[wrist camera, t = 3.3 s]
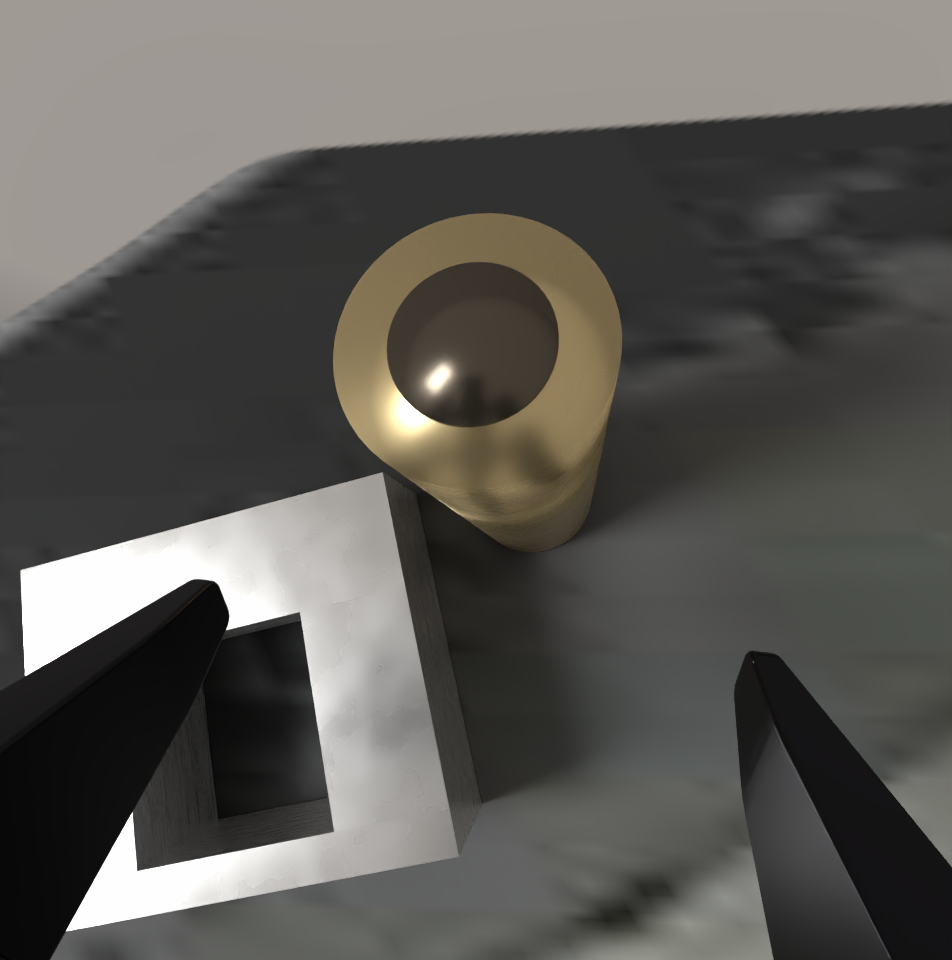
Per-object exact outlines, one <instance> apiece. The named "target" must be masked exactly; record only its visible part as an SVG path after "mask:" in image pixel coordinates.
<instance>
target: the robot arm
mask: <svg viewBox="0 0 952 960" xmlns="http://www.w3.org/2000/svg"><path fill="white" fill-rule="evenodd" d="M229 618H230V614H229V609H228V607H227V604H226V602H225V599H224V597H223V594H222V592H221V589H220V587H219V585H218V584H217V583H216V582H215V581H211V580H203V579H193V580H190V581H188V582H186V583H185V584H183V585H181V586H179V587H178V588H176V589H174V590H172V591H171V592H169V593H167V594H166V595H164V596H162V597H160V598H159V599H157V600H155V601H153V602H152V603H150V604H148V605H147V606H145V607H143V608H141V609H140V610H138V611H136V612H134V613H133V614H131V615H129V616H128V617H126V618H124V619H122V620H121V621H119V622H117V623H115V624H114V625H112V626H110V627H109V628H107V629H105V630H103V631H102V632H100V633H98V634H97V635H95V636H93V637H91V638H90V639H88V640H86V641H84V642H83V643H81V644H79V645H78V646H76V647H74V648H72V649H71V650H69V651H67V652H65V653H64V654H62V655H60V656H59V657H57V658H55V659H53V660H52V661H50V662H48V663H46V664H45V665H43V666H41V667H40V668H38V669H36V670H34V671H33V672H31V673H29V674H27V675H26V676H24V677H22V678H21V679H19V680H17V681H15V682H14V683H12V684H10V685H8V686H7V687H5V688H3V689H2V690H0V960H50V959H51V957H52V955H53V953H54V952H55V950H56V948H57V946H58V944H59V943H60V941H61V939H62V937H63V936H64V934H65V932H66V930H67V928H68V927H69V925H70V923H71V921H72V919H73V918H74V916H75V914H76V912H77V911H78V909H79V907H80V905H81V903H82V902H83V900H84V898H85V896H86V894H87V893H88V891H89V889H90V887H91V886H92V884H93V882H94V880H95V878H96V877H97V875H98V873H99V871H100V870H101V868H102V866H103V864H104V862H105V861H106V859H107V857H108V855H109V853H110V852H111V850H112V848H113V846H114V845H115V843H116V841H117V839H118V837H119V836H120V834H121V832H122V830H123V828H124V827H125V825H126V823H127V821H128V820H129V818H130V816H131V814H132V812H133V811H134V809H135V807H136V805H137V804H138V802H139V800H140V798H141V796H142V795H143V793H144V791H145V789H146V787H147V786H148V784H149V782H150V780H151V779H152V777H153V775H154V773H155V771H156V770H157V768H158V766H159V764H160V762H161V761H162V759H163V757H164V755H165V754H166V752H167V750H168V748H169V746H170V745H171V743H172V741H173V739H174V737H175V736H176V734H177V732H178V730H179V729H180V727H181V725H182V723H183V721H184V720H185V718H186V716H187V714H188V712H189V710H190V709H191V707H192V705H193V703H194V701H195V699H196V697H197V695H198V692H199V690H200V688H201V686H202V684H203V681H204V679H205V677H206V675H207V672H208V670H209V668H210V665H211V663H212V661H213V659H214V656H215V654H216V652H217V649H218V647H219V645H220V643H221V640H222V638H223V636H224V633H225V631H226V629H227V626H228V623H229ZM734 701H735V714H736V727H737V739H738V752H739V764H740V777H741V788H742V798H743V804H744V810H745V815H746V821H747V826H748V831H749V836H750V841H751V846H752V851H753V856H754V861H755V867H756V872H757V877H758V882H759V887H760V892H761V897H762V902H763V907H764V913H765V918H766V923H767V928H768V933H769V938H770V943H771V948H772V953H773V959H774V960H952V867H951V866H950V864H949V863H948V862H947V861H946V860H945V858H944V857H943V856H942V855H941V853H940V852H939V851H938V850H937V848H936V847H935V846H934V845H933V844H932V842H931V841H930V840H929V839H928V837H927V836H926V835H925V834H924V833H923V831H922V830H921V829H920V828H919V826H918V825H917V824H916V823H915V822H914V820H913V819H912V818H911V817H910V815H909V814H908V813H907V812H906V811H905V809H904V808H903V807H902V806H901V804H900V803H899V802H898V801H897V800H896V798H895V797H894V796H893V795H892V793H891V792H890V791H889V790H888V789H887V787H886V786H885V785H884V784H883V782H882V781H881V780H880V779H879V777H878V776H877V775H876V774H875V773H874V771H873V770H872V769H871V768H870V766H869V765H868V764H867V763H866V762H865V760H864V759H863V758H862V757H861V755H860V754H859V753H858V752H857V751H856V749H855V748H854V747H853V746H852V744H851V743H850V742H849V741H848V740H847V738H846V737H845V736H844V735H843V733H842V732H841V731H840V730H839V729H838V727H837V726H836V725H835V724H834V722H833V721H832V720H831V719H830V718H829V716H828V715H827V714H826V713H825V711H824V710H823V709H822V708H821V706H820V705H819V704H818V703H817V702H816V700H815V699H814V698H813V697H812V695H811V694H810V693H809V692H808V691H807V689H806V688H805V687H804V686H803V684H802V683H801V682H800V681H799V680H798V678H797V677H796V676H795V675H794V673H793V672H792V671H791V670H790V669H789V667H788V666H787V665H786V664H785V662H784V661H783V660H782V659H781V658H780V657H779V656H778V655H776V654H773V653H767V652H759V651H749V652H748V653H747V654H746V655H745V658H744V661H743V663H742V666H741V669H740V672H739V675H738V677H737V680H736V683H735V690H734Z"/></svg>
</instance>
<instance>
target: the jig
mask: <svg viewBox="0 0 952 960" xmlns="http://www.w3.org/2000/svg"><path fill="white" fill-rule="evenodd" d="M193 579H203V580H211V581H215V582H216V583H217V584H218V585H219V587H220V589H221V592H222V594H223V597H224V599H225V602H226V604H227V607H228V609H229V614H230V618H229V623H228V626H227V629H226V631H225V633H224V636H223V638H222V640H224V639H228V638H232V637H236V636H240V635H244V634H248V633H252V632H256V631H260V630H265V629H269V628H273V627H277V626H281V625H285V624H289V623H293V622H297V621H301V622H302V628H303V635H304V641H305V648H306V654H307V661H308V667H309V673H310V680H311V686H312V693H313V699H314V706H315V712H316V718H317V725H318V731H319V738H320V744H321V751H322V757H323V763H324V770H325V776H326V783H327V789H328V795H329V797H325V798H321V799H316V800H311V801H306V802H301V803H296V804H292V805H287V806H282V807H277V808H272V809H268V810H263V811H258V812H253V813H248V814H243V815H239V816H234V817H229V818H224V819H219V820H218V814H217V805H216V797H215V788H214V779H213V770H212V762H211V753H210V744H209V735H208V727H207V718H206V709H205V700H204V692H203V684H202V686H201V688H200V690H199V692H198V695H197V697H196V699H195V701H194V703H193V705H192V707H191V709H190V710H189V712H188V714H187V716H186V718H185V720H184V721H183V723H182V725H181V727H180V729H179V730H178V732H177V734H176V736H175V737H174V739H173V741H172V743H171V745H170V746H169V748H168V750H167V752H166V754H165V755H164V757H163V759H162V761H161V762H160V764H159V766H158V768H157V770H156V771H155V773H154V775H153V777H152V779H151V780H150V782H149V784H148V786H147V787H146V789H145V791H144V793H143V795H142V796H141V798H140V800H139V802H138V804H137V805H136V807H135V809H134V811H133V812H132V814H131V816H130V818H129V820H128V821H127V823H126V825H125V827H124V828H123V830H122V832H121V834H120V836H119V837H118V839H117V841H116V843H115V845H114V846H113V848H112V850H111V852H110V853H109V855H108V857H107V859H106V861H105V862H104V864H103V866H102V868H101V870H100V871H99V873H98V875H97V877H96V878H95V880H94V882H93V884H92V886H91V887H90V889H89V891H88V893H87V894H86V896H85V898H84V900H83V902H82V903H81V905H80V907H79V909H78V911H77V912H76V914H75V916H74V918H73V919H72V921H71V923H70V925H69V927H68V928H67V930H66V931H70V930H75V929H81V928H86V927H91V926H96V925H102V924H107V923H112V922H117V921H123V920H128V919H133V918H139V917H144V916H149V915H154V914H160V913H165V912H170V911H175V910H181V909H186V908H191V907H196V906H202V905H207V904H212V903H217V902H223V901H228V900H233V899H238V898H244V897H249V896H254V895H260V894H265V893H270V892H275V891H281V890H286V889H291V888H296V887H302V886H307V885H312V884H317V883H323V882H328V881H333V880H338V879H344V878H349V877H354V876H359V875H365V874H370V873H375V872H380V871H386V870H391V869H396V868H402V867H407V866H412V865H417V864H423V863H428V862H433V861H438V860H444V859H449V858H454V857H459V855H460V853H461V851H462V848H463V846H464V844H465V842H466V839H467V837H468V835H469V832H470V830H471V828H472V825H473V823H474V821H475V818H476V816H477V814H478V812H479V809H480V807H481V805H482V804H481V799H480V795H479V790H478V785H477V780H476V776H475V771H474V766H473V761H472V757H471V752H470V747H469V742H468V738H467V733H466V728H465V724H464V719H463V714H462V709H461V705H460V700H459V695H458V690H457V686H456V681H455V676H454V671H453V667H452V662H451V657H450V652H449V648H448V643H447V638H446V634H445V629H444V624H443V619H442V615H441V610H440V605H439V600H438V596H437V591H436V586H435V581H434V577H433V572H432V567H431V562H430V558H429V553H428V548H427V544H426V539H425V534H424V529H423V525H422V520H421V515H420V510H419V506H418V501H417V496H416V494H415V493H414V492H412V491H411V490H409V489H408V488H406V487H404V486H403V485H401V484H400V483H398V482H397V481H395V480H394V479H392V478H390V477H389V476H387V475H386V474H384V473H383V472H382V473H379V474H375V475H371V476H368V477H364V478H360V479H356V480H353V481H349V482H345V483H342V484H338V485H334V486H331V487H327V488H323V489H320V490H316V491H312V492H308V493H305V494H301V495H297V496H294V497H290V498H286V499H283V500H279V501H275V502H272V503H268V504H264V505H261V506H257V507H253V508H249V509H246V510H242V511H238V512H235V513H231V514H227V515H224V516H220V517H216V518H213V519H209V520H205V521H202V522H198V523H194V524H190V525H187V526H183V527H179V528H176V529H172V530H168V531H165V532H161V533H157V534H154V535H150V536H146V537H143V538H139V539H135V540H131V541H128V542H124V543H120V544H117V545H113V546H109V547H106V548H102V549H98V550H95V551H91V552H87V553H83V554H80V555H76V556H72V557H69V558H65V559H61V560H58V561H54V562H50V563H47V564H43V565H39V566H36V567H32V568H28V569H24V570H21V591H22V612H23V633H24V655H25V676H26V675H27V674H29V673H31V672H33V671H34V670H36V669H38V668H40V667H41V666H43V665H45V664H46V663H48V662H50V661H52V660H53V659H55V658H57V657H59V656H60V655H62V654H64V653H65V652H67V651H69V650H71V649H72V648H74V647H76V646H78V645H79V644H81V643H83V642H84V641H86V640H88V639H90V638H91V637H93V636H95V635H97V634H98V633H100V632H102V631H103V630H105V629H107V628H109V627H110V626H112V625H114V624H115V623H117V622H119V621H121V620H122V619H124V618H126V617H128V616H129V615H131V614H133V613H134V612H136V611H138V610H140V609H141V608H143V607H145V606H147V605H148V604H150V603H152V602H153V601H155V600H157V599H159V598H160V597H162V596H164V595H166V594H167V593H169V592H171V591H172V590H174V589H176V588H178V587H179V586H181V585H183V584H185V583H186V582H188V581H190V580H193Z"/></svg>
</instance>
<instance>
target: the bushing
mask: <svg viewBox="0 0 952 960" xmlns="http://www.w3.org/2000/svg"><path fill="white" fill-rule="evenodd" d="M621 352H622V329H621V322H620V316H619V311H618V308H617V304H616V301H615V298H614V295H613V293H612V290H611V288H610V286H609V284H608V282H607V280H606V278H605V277H604V275H603V274H602V272H601V271H600V269H599V268H598V266H597V265H596V263H595V262H594V261H593V260H592V259H591V258H590V257H589V255H588V254H587V253H586V252H585V251H584V250H583V249H582V248H580V247H579V246H578V245H577V244H576V243H574V242H573V241H572V240H571V239H569V238H568V237H566V236H565V235H563V234H561V233H560V232H558V231H557V230H555V229H553V228H550V227H548V226H546V225H544V224H542V223H539V222H536V221H533V220H530V219H527V218H523V217H518V216H512V215H507V214H492V213H483V214H469V215H463V216H458V217H453V218H449V219H446V220H442V221H439V222H436V223H433V224H431V225H428V226H426V227H424V228H421V229H419V230H417V231H415V232H414V233H412V234H410V235H408V236H407V237H405V238H403V239H401V240H400V241H399V242H397V243H396V244H395V245H393V246H392V247H391V248H389V249H388V250H387V251H386V252H385V253H384V254H382V255H381V256H380V257H379V258H378V259H377V260H376V261H375V262H374V263H373V264H372V265H371V266H370V268H369V269H368V270H367V271H366V272H365V273H364V275H363V276H362V277H361V279H360V280H359V282H358V283H357V285H356V286H355V288H354V289H353V291H352V293H351V295H350V297H349V299H348V301H347V303H346V305H345V307H344V309H343V312H342V315H341V318H340V320H339V324H338V328H337V332H336V337H335V343H334V353H333V366H334V378H335V384H336V390H337V393H338V397H339V400H340V403H341V406H342V409H343V411H344V413H345V415H346V417H347V419H348V421H349V423H350V425H351V426H352V428H353V429H354V431H355V432H356V434H357V435H358V437H359V438H360V439H361V440H362V441H363V442H364V443H365V445H366V446H367V447H368V448H369V449H370V450H371V451H372V452H373V453H374V454H376V455H377V456H378V457H379V458H380V459H381V460H383V461H384V462H385V463H387V464H388V465H389V466H391V467H392V468H394V469H395V470H396V471H398V472H399V473H401V474H402V475H404V476H405V477H406V478H408V479H409V480H411V481H412V482H414V483H415V484H416V485H418V486H419V487H421V488H422V489H423V490H425V491H426V492H428V493H429V494H431V495H432V496H433V497H435V498H436V499H438V500H439V501H440V502H442V503H443V504H445V505H446V506H448V507H449V508H450V509H452V510H453V511H455V512H456V513H458V514H459V515H460V516H462V517H463V518H465V519H466V520H467V521H469V522H470V523H472V524H473V525H475V526H476V527H477V528H479V529H480V530H482V531H483V532H485V533H486V534H487V535H489V536H490V537H492V538H493V539H494V540H496V541H497V542H499V543H501V544H502V545H504V546H506V547H508V548H511V549H514V550H517V551H522V552H542V551H546V550H550V549H553V548H556V547H558V546H560V545H562V544H563V543H565V542H566V541H568V540H569V539H571V538H572V537H573V536H574V535H575V534H576V533H577V532H578V530H579V529H580V528H581V527H582V525H583V523H584V522H585V520H586V518H587V516H588V513H589V510H590V507H591V502H592V497H593V493H594V488H595V483H596V478H597V473H598V468H599V464H600V459H601V454H602V449H603V444H604V439H605V435H606V430H607V425H608V420H609V415H610V410H611V406H612V401H613V396H614V391H615V386H616V381H617V377H618V372H619V366H620V359H621Z"/></svg>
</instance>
